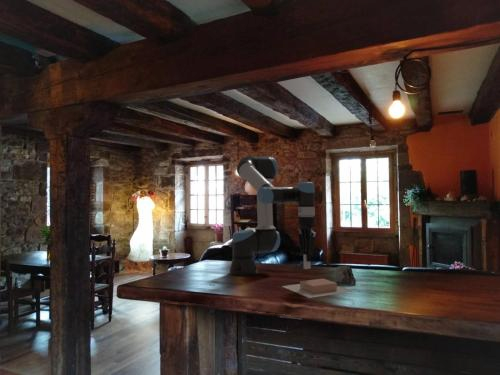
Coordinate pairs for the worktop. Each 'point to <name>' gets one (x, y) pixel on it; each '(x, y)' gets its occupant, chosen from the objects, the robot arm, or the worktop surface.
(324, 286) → the picture frame
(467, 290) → the worktop surface
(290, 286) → the board
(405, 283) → the worktop surface
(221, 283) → the worktop surface
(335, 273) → the stone
